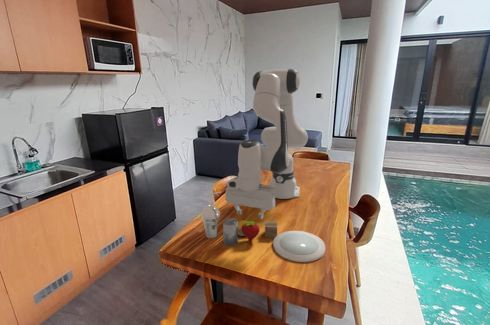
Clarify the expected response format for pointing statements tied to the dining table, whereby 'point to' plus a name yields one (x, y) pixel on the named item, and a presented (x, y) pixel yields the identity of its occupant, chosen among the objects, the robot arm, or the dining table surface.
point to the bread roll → (241, 227)
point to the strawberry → (250, 230)
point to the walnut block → (270, 229)
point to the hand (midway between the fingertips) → (249, 215)
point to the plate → (299, 246)
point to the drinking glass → (230, 231)
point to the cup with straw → (210, 218)
